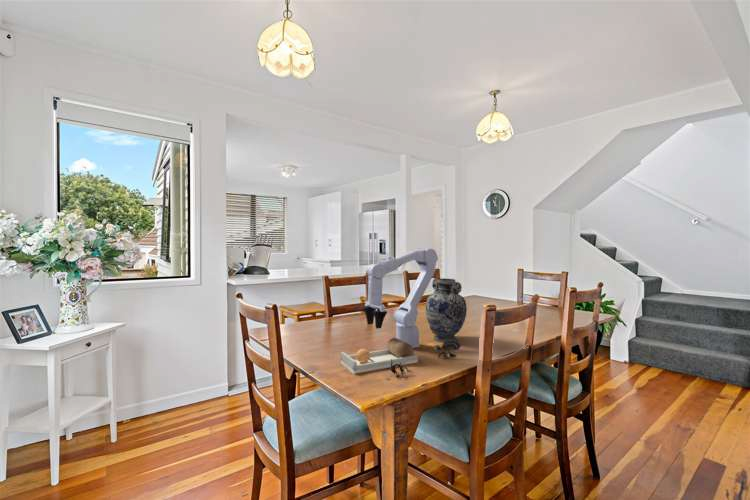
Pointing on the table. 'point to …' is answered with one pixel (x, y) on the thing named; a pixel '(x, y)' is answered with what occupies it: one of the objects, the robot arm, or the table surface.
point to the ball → (363, 355)
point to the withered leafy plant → (447, 348)
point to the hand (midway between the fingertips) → (374, 326)
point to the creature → (399, 367)
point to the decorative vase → (446, 309)
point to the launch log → (400, 348)
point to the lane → (375, 361)
